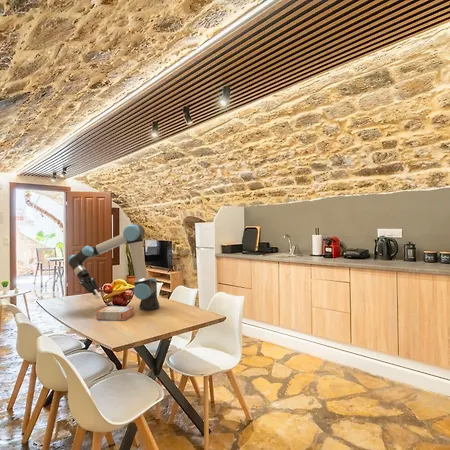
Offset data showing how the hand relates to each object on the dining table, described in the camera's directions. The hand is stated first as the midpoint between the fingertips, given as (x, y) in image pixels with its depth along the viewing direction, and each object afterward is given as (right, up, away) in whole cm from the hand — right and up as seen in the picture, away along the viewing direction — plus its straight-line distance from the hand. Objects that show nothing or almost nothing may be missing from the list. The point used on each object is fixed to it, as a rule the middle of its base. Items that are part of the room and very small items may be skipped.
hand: (98, 297), depth 237 cm
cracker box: (+2, -11, 0) cm, 11 cm away
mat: (+13, -13, -1) cm, 19 cm away
